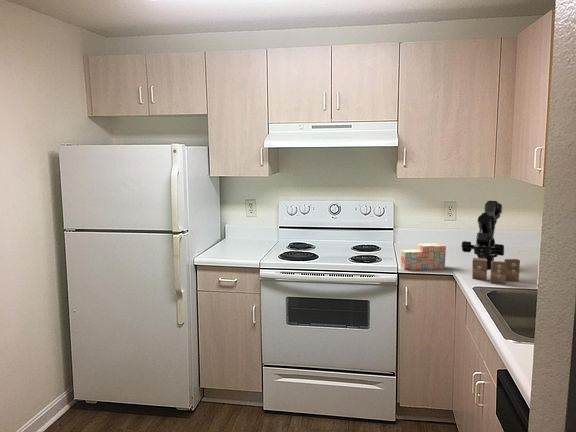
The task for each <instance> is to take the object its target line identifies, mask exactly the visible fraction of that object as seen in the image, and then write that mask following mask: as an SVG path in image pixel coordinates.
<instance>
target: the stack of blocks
mask: <svg viewBox="0 0 576 432" xmlns="http://www.w3.org/2000/svg"><path fill="white" fill-rule="evenodd" d="M446 248H447V247H446V245H444V244H443V243H418V246H417V249H401V251H400V268H402V270H404V271H405V270H409V271H411V270H445V268H446V254H447V252H446V251H447V249H446Z"/></svg>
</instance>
